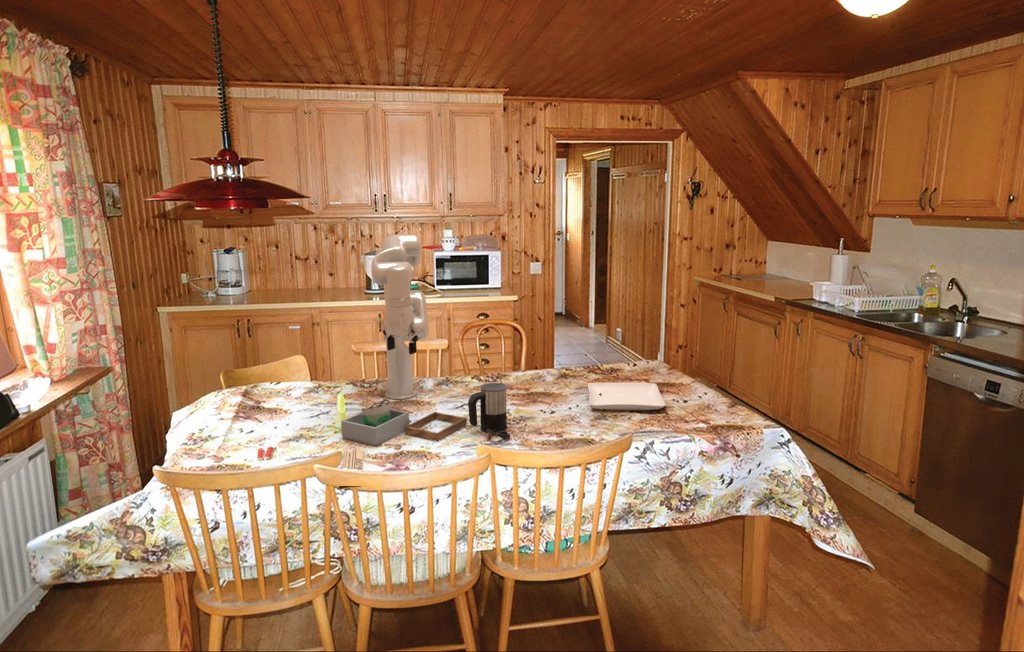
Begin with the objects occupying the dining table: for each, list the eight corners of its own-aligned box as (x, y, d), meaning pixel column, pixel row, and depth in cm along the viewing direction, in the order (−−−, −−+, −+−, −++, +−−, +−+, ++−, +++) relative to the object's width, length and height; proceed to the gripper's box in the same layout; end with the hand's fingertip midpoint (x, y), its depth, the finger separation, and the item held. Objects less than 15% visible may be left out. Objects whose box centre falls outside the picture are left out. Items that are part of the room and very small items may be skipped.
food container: (378, 440, 202) (376, 411, 200) (362, 437, 204) (361, 408, 202) (400, 427, 213) (399, 399, 211) (385, 425, 215) (384, 397, 213)
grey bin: (342, 438, 206) (341, 421, 205) (376, 422, 220) (375, 405, 219) (376, 446, 199) (375, 428, 198) (409, 429, 213) (408, 412, 212)
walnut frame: (405, 434, 209) (404, 426, 208) (435, 418, 223) (434, 411, 222) (438, 441, 202) (437, 434, 202) (466, 424, 216) (466, 418, 216)
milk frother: (493, 421, 219) (492, 380, 216) (528, 431, 209) (528, 389, 206) (464, 433, 209) (463, 390, 206) (499, 444, 199) (498, 400, 196)
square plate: (655, 391, 250) (656, 382, 250) (665, 415, 224) (666, 404, 223) (587, 390, 253) (587, 381, 252) (589, 413, 226) (589, 403, 226)
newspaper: (343, 456, 194) (343, 450, 193) (367, 453, 195) (366, 448, 195) (339, 490, 171) (338, 484, 171) (366, 487, 172) (365, 481, 172)
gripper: (372, 301, 212) (375, 350, 216) (411, 307, 203) (414, 357, 207) (387, 298, 218) (390, 345, 222) (426, 303, 209) (428, 352, 214)
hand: (402, 351), depth 215 cm, fingers open, 9 cm apart
